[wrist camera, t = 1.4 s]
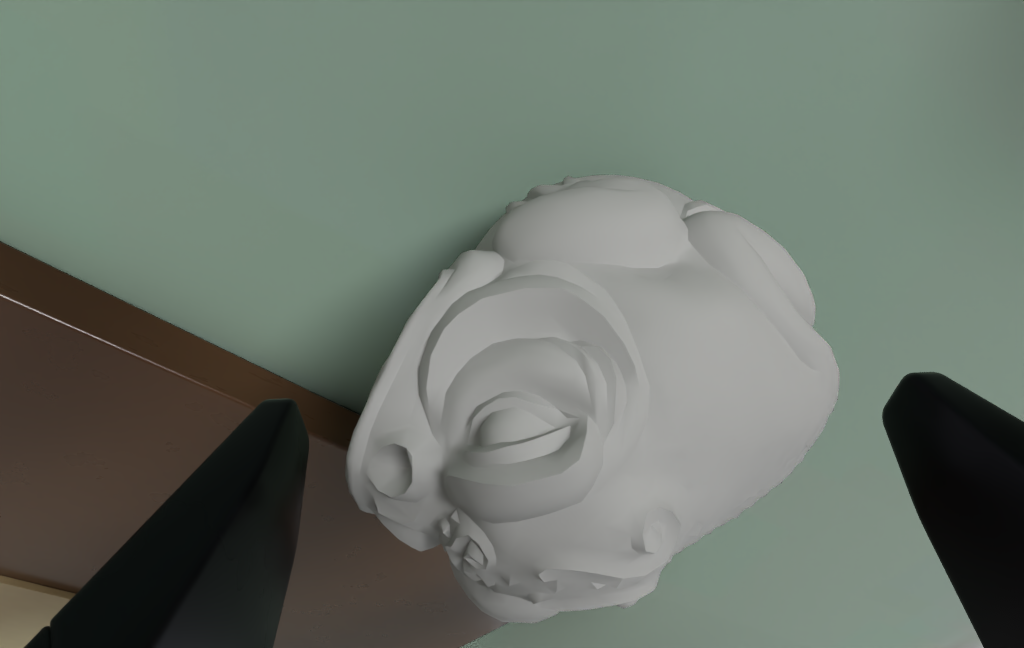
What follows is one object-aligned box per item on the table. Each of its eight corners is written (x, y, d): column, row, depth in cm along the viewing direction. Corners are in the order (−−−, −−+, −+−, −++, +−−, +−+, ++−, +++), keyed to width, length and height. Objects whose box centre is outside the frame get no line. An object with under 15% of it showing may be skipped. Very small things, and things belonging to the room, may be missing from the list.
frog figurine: (374, 85, 10) (256, 418, 4) (788, 96, 10) (1140, 407, 5) (403, 354, 13) (360, 698, 8) (698, 352, 14) (836, 676, 9)
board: (609, 534, 19) (617, 575, 18) (299, 703, 28) (292, 737, 27) (-162, 160, 10) (-238, 202, 9) (-260, 594, 19) (-303, 640, 18)
